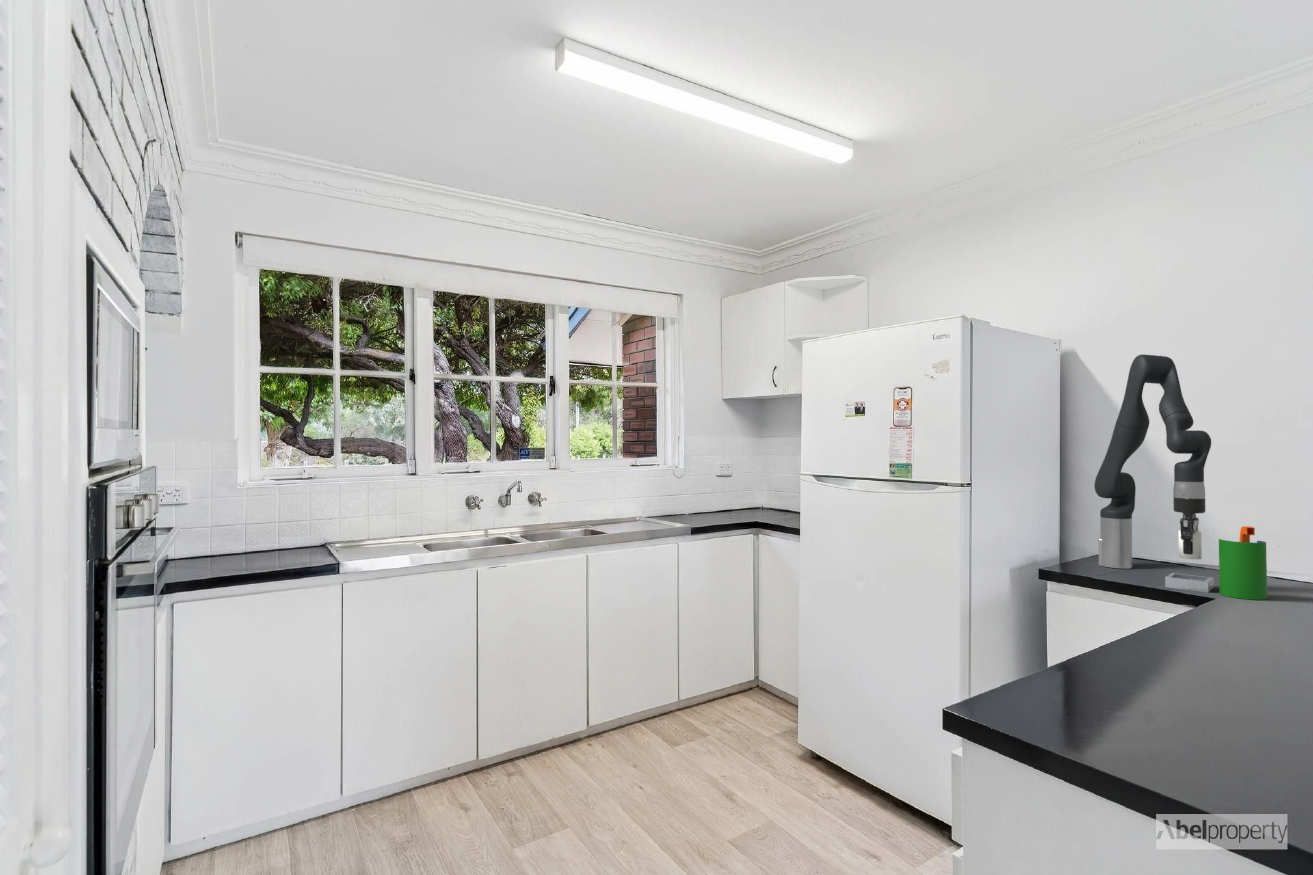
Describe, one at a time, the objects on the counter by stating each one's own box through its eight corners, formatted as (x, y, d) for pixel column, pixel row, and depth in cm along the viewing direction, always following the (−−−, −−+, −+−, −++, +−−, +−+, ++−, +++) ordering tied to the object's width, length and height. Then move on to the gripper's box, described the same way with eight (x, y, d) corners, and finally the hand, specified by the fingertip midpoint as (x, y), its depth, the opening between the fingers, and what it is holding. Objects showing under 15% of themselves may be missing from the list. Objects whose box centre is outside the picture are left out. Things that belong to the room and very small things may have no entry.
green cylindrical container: (1251, 593, 193) (1251, 524, 193) (1277, 600, 184) (1276, 527, 184) (1213, 592, 194) (1213, 523, 194) (1237, 599, 185) (1236, 527, 185)
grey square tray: (1165, 587, 201) (1165, 577, 201) (1172, 582, 208) (1171, 572, 208) (1208, 592, 194) (1208, 582, 194) (1213, 587, 200) (1213, 577, 201)
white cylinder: (1177, 557, 201) (1176, 527, 201) (1180, 555, 205) (1180, 526, 205) (1200, 559, 197) (1199, 529, 197) (1203, 557, 201) (1202, 527, 201)
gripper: (1178, 494, 209) (1178, 549, 208) (1168, 497, 199) (1169, 554, 199) (1209, 496, 203) (1209, 552, 203) (1201, 498, 193) (1201, 557, 193)
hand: (1189, 552), depth 201 cm, fingers closed on white cylinder, 5 cm apart
